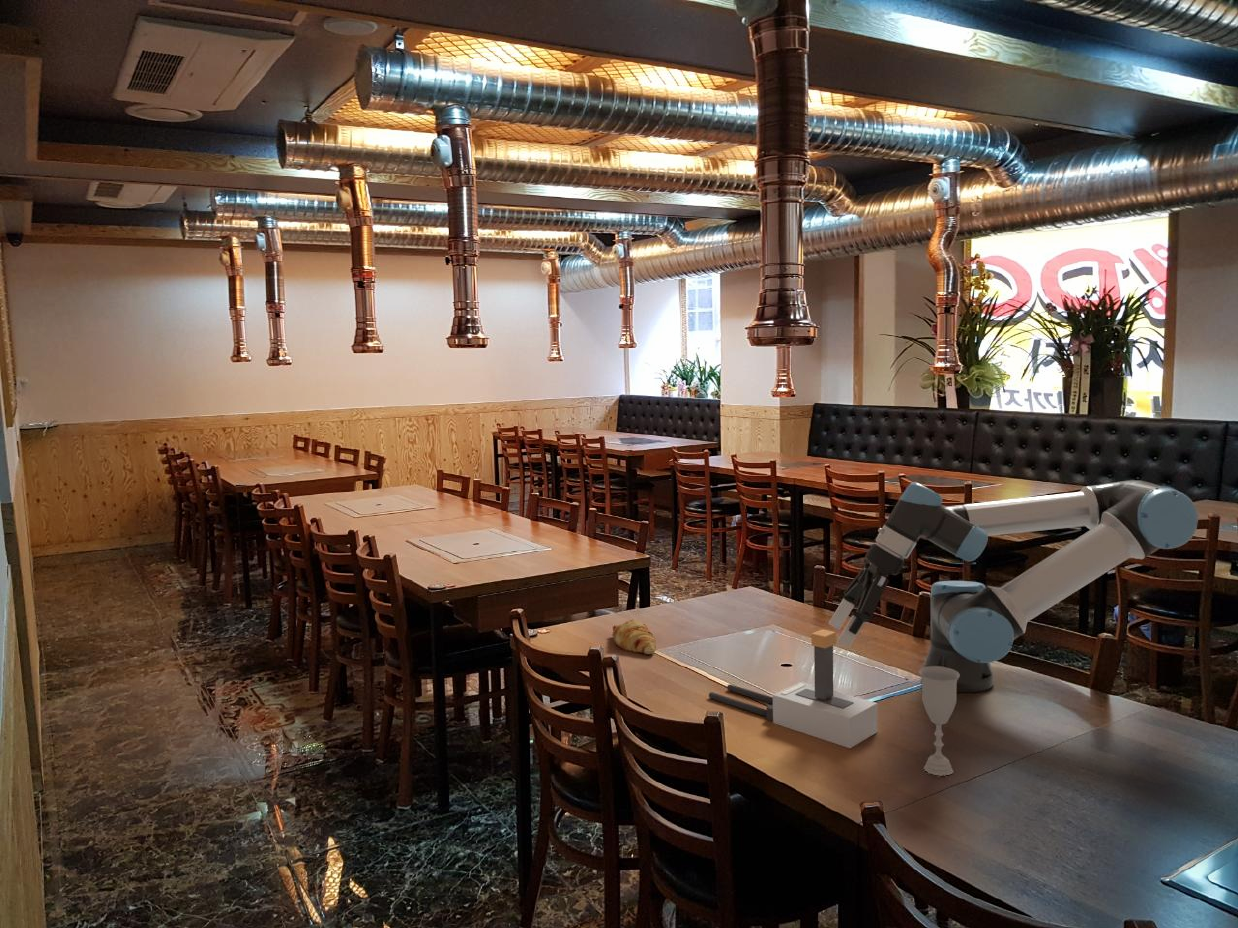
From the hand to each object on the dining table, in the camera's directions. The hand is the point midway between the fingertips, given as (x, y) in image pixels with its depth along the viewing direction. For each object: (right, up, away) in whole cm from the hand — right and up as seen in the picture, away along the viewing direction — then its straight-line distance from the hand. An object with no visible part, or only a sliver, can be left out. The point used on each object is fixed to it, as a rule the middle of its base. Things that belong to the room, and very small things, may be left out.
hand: (838, 635), depth 188 cm
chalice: (+10, -18, -31) cm, 37 cm away
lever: (-6, -10, -11) cm, 16 cm away
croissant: (-43, -12, +45) cm, 64 cm away
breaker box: (-6, -17, -11) cm, 20 cm away
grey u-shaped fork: (-18, -15, +3) cm, 24 cm away
